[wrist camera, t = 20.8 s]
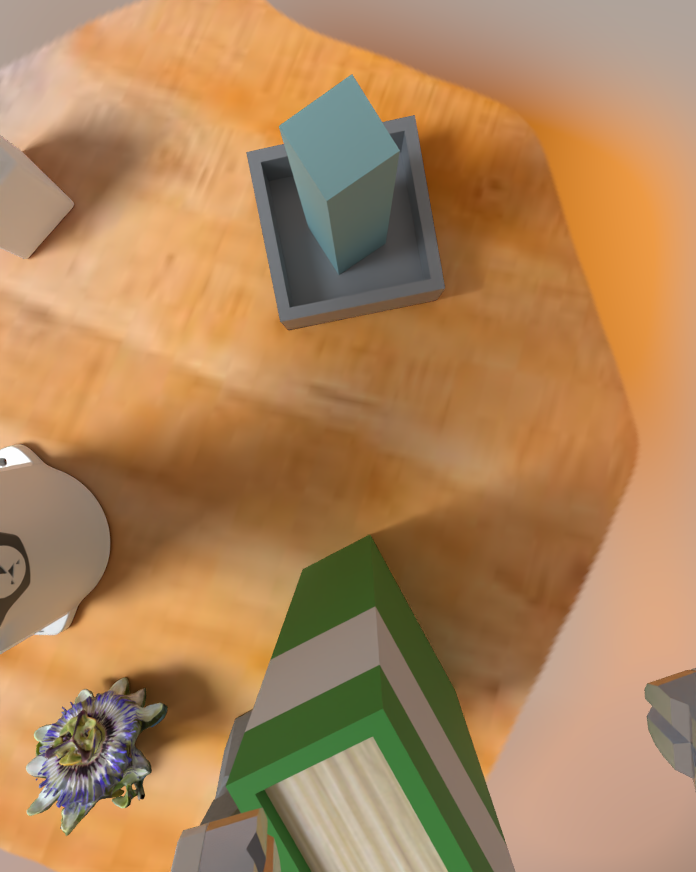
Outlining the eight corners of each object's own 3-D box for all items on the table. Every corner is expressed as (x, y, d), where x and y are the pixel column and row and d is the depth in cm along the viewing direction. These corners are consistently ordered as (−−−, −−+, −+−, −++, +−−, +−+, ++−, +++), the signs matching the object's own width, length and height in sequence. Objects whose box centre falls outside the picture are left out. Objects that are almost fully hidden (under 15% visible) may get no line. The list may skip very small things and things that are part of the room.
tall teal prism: (338, 275, 39) (326, 201, 25) (308, 227, 39) (278, 126, 25) (385, 243, 39) (399, 150, 25) (355, 195, 38) (351, 74, 24)
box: (288, 330, 40) (280, 321, 36) (257, 178, 39) (246, 152, 35) (436, 300, 40) (445, 288, 36) (409, 145, 39) (414, 115, 35)
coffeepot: (219, 685, 43) (118, 885, 25) (314, 681, 43) (280, 881, 25) (231, 830, 44) (142, 1122, 26) (323, 827, 44) (297, 1122, 26)
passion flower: (150, 654, 49) (164, 680, 39) (168, 756, 47) (188, 811, 37) (27, 700, 43) (6, 745, 33) (43, 819, 41) (26, 904, 31)
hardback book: (455, 690, 42) (578, 1061, 18) (388, 723, 43) (423, 1127, 19) (370, 534, 41) (382, 708, 18) (302, 569, 42) (225, 786, 18)
